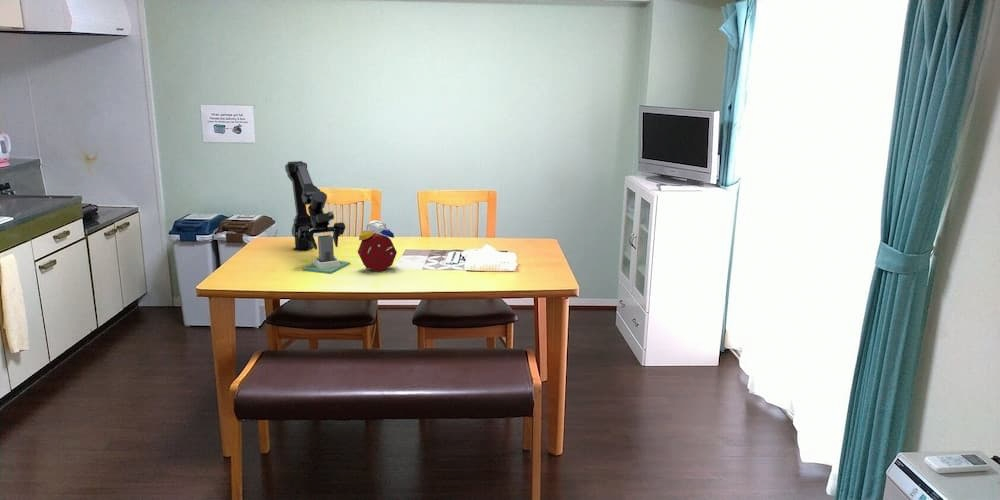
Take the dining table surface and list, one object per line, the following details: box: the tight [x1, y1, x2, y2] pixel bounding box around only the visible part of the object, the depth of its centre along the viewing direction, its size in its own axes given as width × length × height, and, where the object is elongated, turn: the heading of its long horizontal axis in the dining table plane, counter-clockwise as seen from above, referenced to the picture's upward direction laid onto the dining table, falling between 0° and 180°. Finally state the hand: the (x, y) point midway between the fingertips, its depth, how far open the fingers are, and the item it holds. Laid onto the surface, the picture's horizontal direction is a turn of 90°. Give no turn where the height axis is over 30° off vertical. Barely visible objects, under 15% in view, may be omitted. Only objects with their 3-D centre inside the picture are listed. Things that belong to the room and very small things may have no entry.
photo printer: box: [368, 220, 387, 236], centre depth 328 cm, size 10×4×12 cm, turn 39°
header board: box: [302, 256, 351, 274], centre depth 297 cm, size 13×15×3 cm
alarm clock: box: [357, 222, 398, 273], centre depth 291 cm, size 15×9×20 cm, turn 111°
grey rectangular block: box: [317, 234, 335, 263], centre depth 295 cm, size 5×5×12 cm
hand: (326, 247), depth 294 cm, fingers open, 8 cm apart
